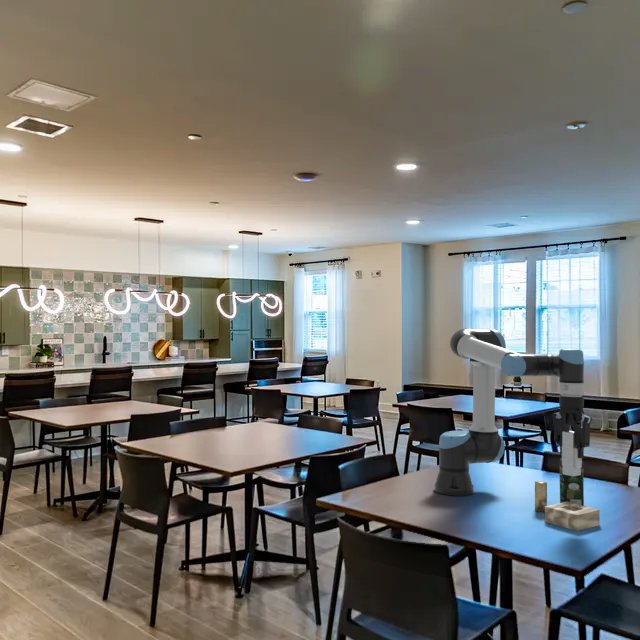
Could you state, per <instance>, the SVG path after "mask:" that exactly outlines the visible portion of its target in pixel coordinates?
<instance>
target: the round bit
mask: <svg viewBox="0 0 640 640" xmlns="http://www.w3.org/2000/svg"><path fill="white" fill-rule="evenodd" d="M545 506H548V482H546V481H542V480H537V481H534V511H535V512H537V513H545Z"/></svg>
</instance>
